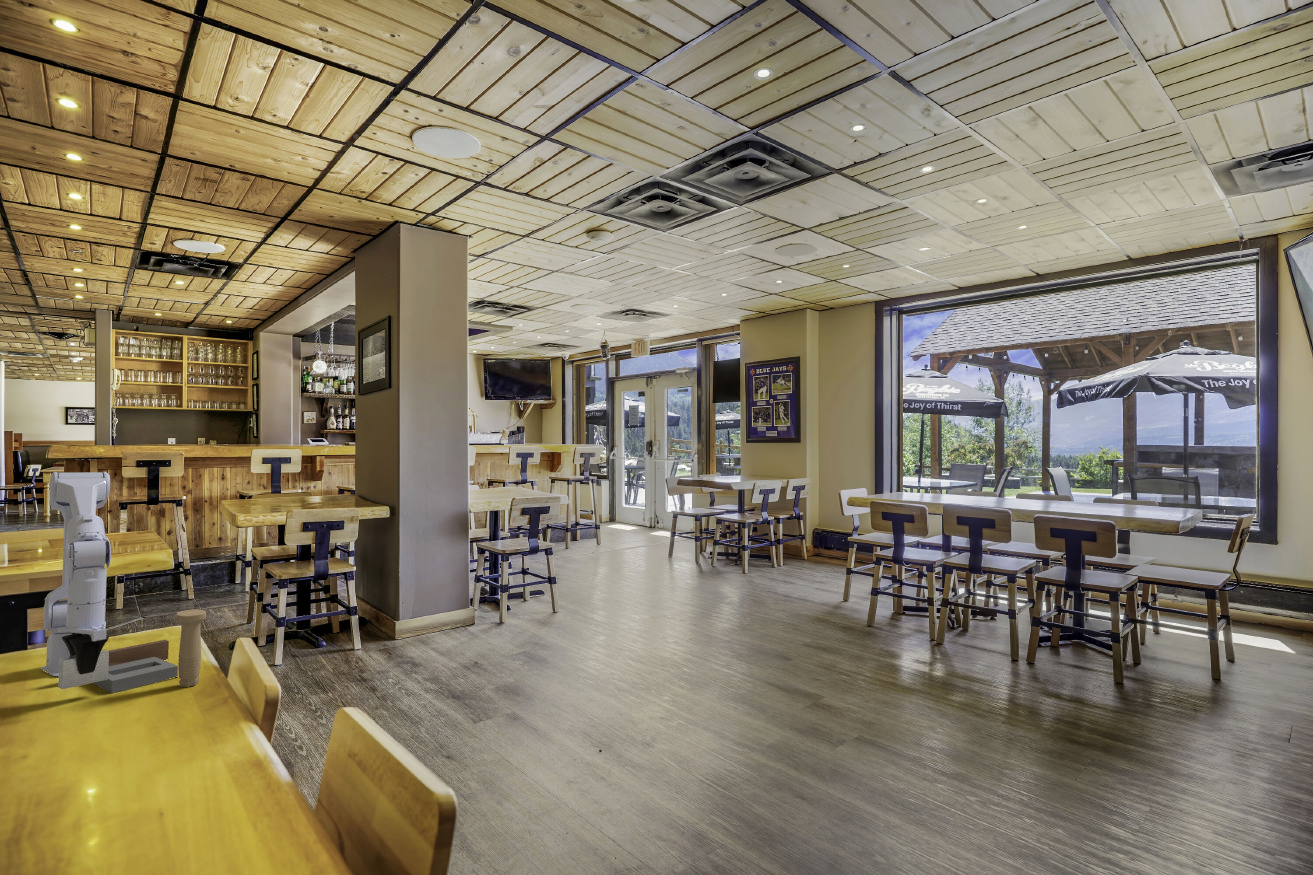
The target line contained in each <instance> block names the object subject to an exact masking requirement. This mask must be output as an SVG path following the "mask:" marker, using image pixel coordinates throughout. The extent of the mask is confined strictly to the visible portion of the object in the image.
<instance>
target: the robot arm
mask: <svg viewBox="0 0 1313 875" xmlns="http://www.w3.org/2000/svg"><path fill="white" fill-rule="evenodd" d="M48 492H49V495H48V496H49V506H50V509H52V510H54V511H59V512H60V513H61V515H62V518H63V521H64V522H63V544H62V545H63V548H62V550H63V551H62V552H63V553H62V578H61V579H62V582H61V585H60V586H58V587H57V588H55V589H54V590H52V591H50V592H49V593H48V594H47V595H46V597H45V598H44V605H43V613H42V614H43V618H42V619H43V623H42V624H43V630H45V631H46V632H50V634H49V635H48V638H47V639H46V640H47V641H46V663H45V666H41V667H40V668H41V669H42V670H44V671H46V672H48V673H49V674H48V673H47V674H48V675H50V676H52V677H53V676H58V677H59V658H64V657H69V656H75V655H76V658H77V665H78V671H79V673H80V674H81V675H82V674H86V673H91V672H94V670H95V668H96V664H97V661H98V658H99V655H100V652H101V650H103V648H104V647H105V645H106V643H107V642H108V640H109V638H110V636H109V635H108V634H107V628H106V627H107V622H106V603H107V602H106V600H107V578H108V575H107V574H108V573H107V572H108V569H109V568H110V564H111V560H112V545H111V542H110V539H109V537H108V536H106V529H105V523H104V520H103V519H102V517H100V516H98V515H97V514H96V512H97V510H98V509H102V508H104V507H105V504H106V503H107V501H108V498H109V497H110V492H111V476H110V473H108V472H107V471H103V472H102V471H101V472H99V471H98V472H92V471H90V472H58V471H53V472H52V473H51V474H50V477H49V491H48ZM105 566H106V567H105ZM41 669H40V670H41ZM42 670H41V671H42ZM44 671H43V672H44ZM46 672H45V673H46Z"/></svg>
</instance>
